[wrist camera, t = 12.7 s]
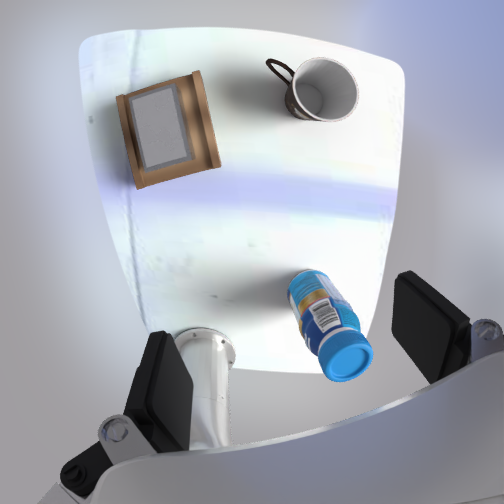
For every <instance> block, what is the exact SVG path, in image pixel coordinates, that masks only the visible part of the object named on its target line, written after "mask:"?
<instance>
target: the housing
mask: <svg viewBox="0 0 504 504" xmlns="http://www.w3.org/2000/svg"><path fill="white" fill-rule="evenodd" d="M129 103H130V109H131V114H132V119H133V123H134V128H135V133H136V137H137V142H138V146H139V150H140V155H141V159H142V163H143V167H144V171H145V173H148V172H151V171H154V170H158V169H161V168H164V167H168V166H171V165H175V164H179V163H182V162H186V161H190V160H193V159H196V155H195V151H194V147H193V142H192V138H191V134H190V129H189V125H188V120H187V116H186V111H185V106H184V102H183V97H182V92H181V90H180V89H179V87H178V86H177V85H176V84H175V83H173V84H170V85H166V86H163V87H160V88H157V89H154V90H150V91H147V92H144V93H142V94H139V95H136V96H133V97H130V98H129Z"/></svg>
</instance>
